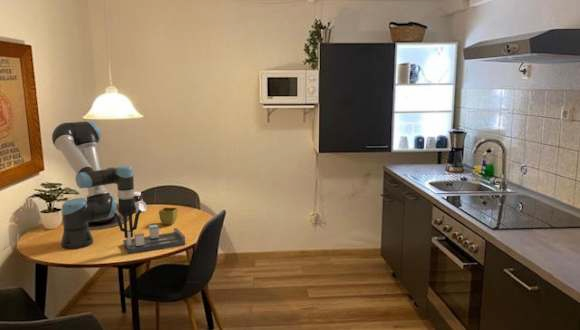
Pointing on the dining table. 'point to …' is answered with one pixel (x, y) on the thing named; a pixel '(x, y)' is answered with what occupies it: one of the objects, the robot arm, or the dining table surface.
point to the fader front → (139, 238)
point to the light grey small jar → (154, 231)
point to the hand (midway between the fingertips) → (129, 243)
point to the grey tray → (157, 242)
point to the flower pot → (168, 215)
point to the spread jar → (139, 202)
